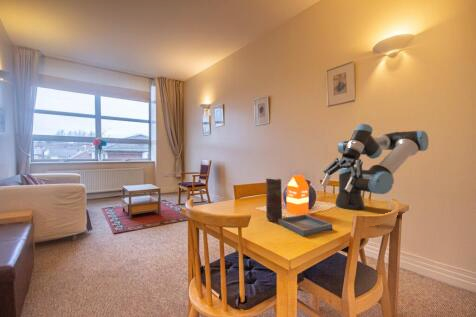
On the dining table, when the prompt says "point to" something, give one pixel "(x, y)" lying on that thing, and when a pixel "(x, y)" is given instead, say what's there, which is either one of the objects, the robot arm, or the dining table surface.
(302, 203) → the orange juice
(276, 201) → the candle
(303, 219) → the tray
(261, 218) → the dining table surface
